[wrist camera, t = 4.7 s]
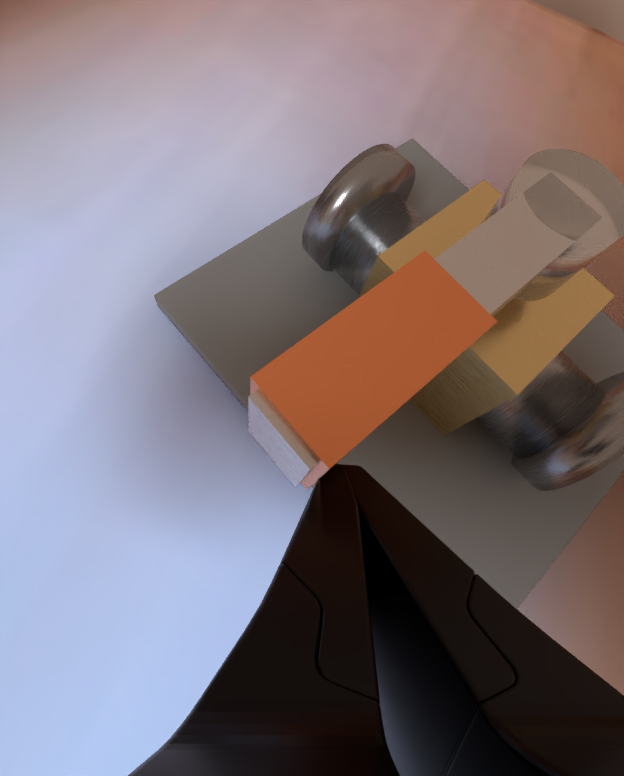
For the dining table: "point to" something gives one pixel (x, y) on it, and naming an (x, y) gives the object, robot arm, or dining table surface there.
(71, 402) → the dining table surface
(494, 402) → the valve body
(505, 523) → the rubber mat
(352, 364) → the valve lever
